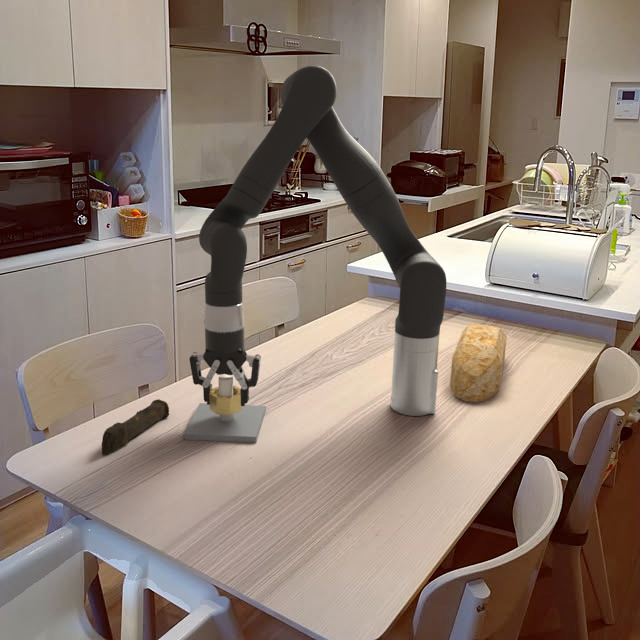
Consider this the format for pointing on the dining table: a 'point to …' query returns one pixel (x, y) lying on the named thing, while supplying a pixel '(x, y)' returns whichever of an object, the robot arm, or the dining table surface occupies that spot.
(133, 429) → the hand tool
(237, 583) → the dining table surface
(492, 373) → the bread
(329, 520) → the dining table surface
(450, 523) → the dining table surface
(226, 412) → the ring
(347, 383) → the dining table surface
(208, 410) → the post base
